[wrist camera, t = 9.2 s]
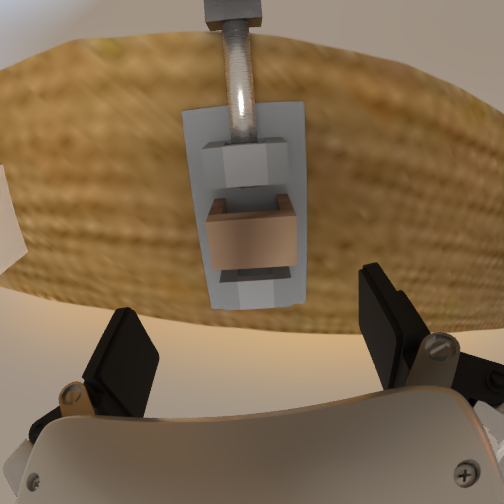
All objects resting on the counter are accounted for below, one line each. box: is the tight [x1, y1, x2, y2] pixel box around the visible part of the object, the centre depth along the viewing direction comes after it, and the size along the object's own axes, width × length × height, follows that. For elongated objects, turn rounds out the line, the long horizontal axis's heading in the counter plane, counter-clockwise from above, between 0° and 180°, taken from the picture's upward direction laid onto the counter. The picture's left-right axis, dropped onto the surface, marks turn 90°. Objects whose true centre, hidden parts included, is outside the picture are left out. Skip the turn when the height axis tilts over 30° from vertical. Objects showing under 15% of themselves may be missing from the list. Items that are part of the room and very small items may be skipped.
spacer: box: [205, 194, 297, 271], centre depth 24 cm, size 6×4×5 cm, turn 94°
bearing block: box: [182, 101, 307, 311], centre depth 25 cm, size 10×20×5 cm, turn 4°
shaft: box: [204, 0, 262, 189], centre depth 19 cm, size 4×15×3 cm, turn 4°
